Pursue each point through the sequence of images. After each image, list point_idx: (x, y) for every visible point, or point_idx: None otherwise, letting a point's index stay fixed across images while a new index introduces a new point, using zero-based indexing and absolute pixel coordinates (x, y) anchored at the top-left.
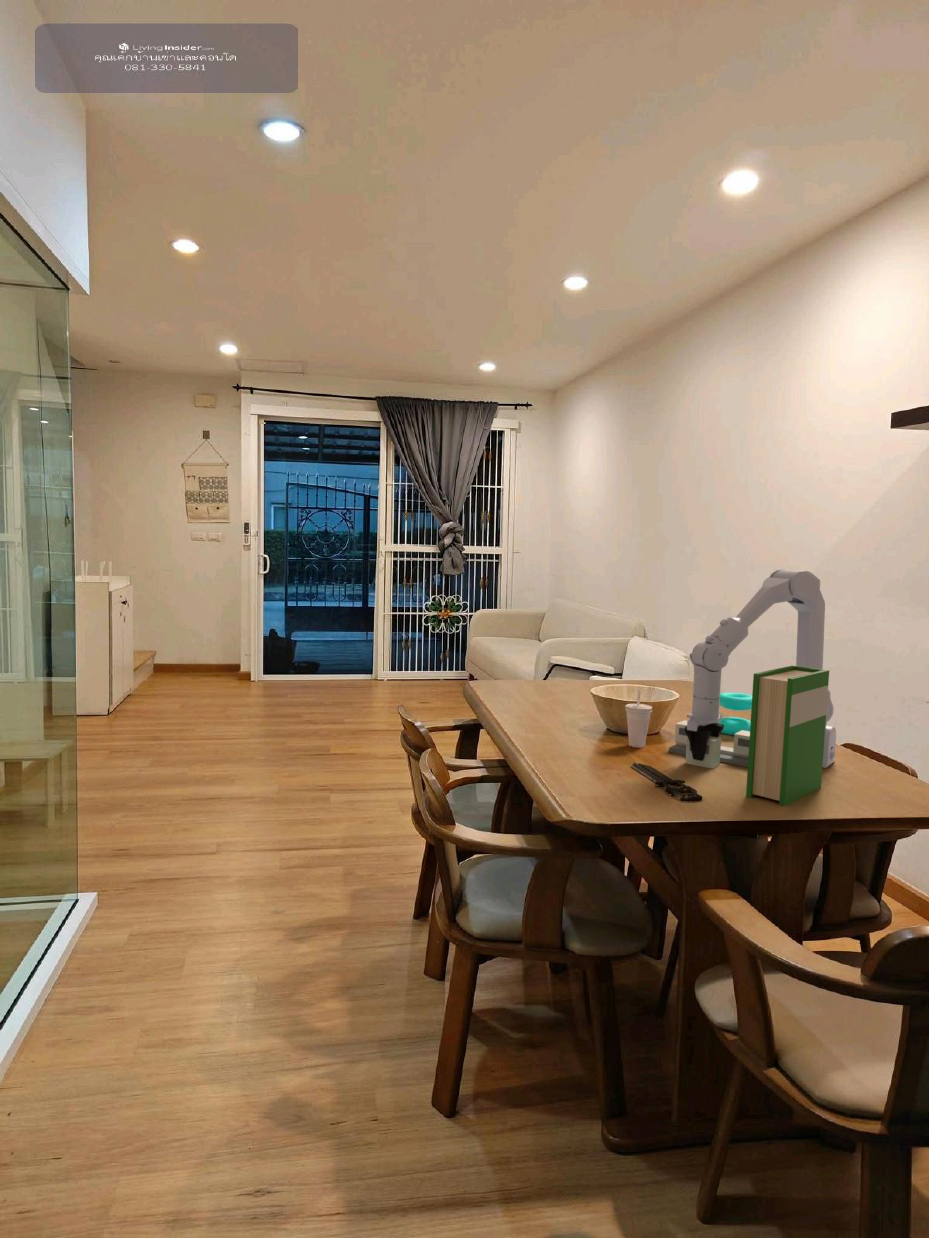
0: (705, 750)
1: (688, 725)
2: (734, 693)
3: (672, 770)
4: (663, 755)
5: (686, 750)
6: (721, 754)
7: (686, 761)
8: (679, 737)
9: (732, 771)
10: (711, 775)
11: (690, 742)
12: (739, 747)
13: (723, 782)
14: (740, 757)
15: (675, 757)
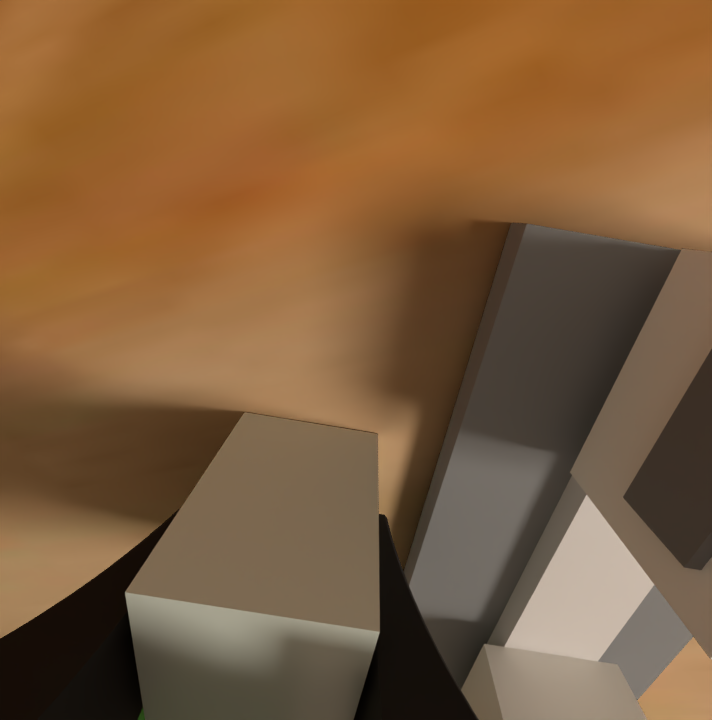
0: None
1: None
2: None
3: (19, 385)
4: (345, 220)
5: (204, 472)
6: (489, 574)
7: (241, 423)
8: (701, 314)
9: None
10: (117, 553)
11: (83, 591)
12: (485, 716)
13: (60, 599)
14: (475, 645)
15: (345, 321)
